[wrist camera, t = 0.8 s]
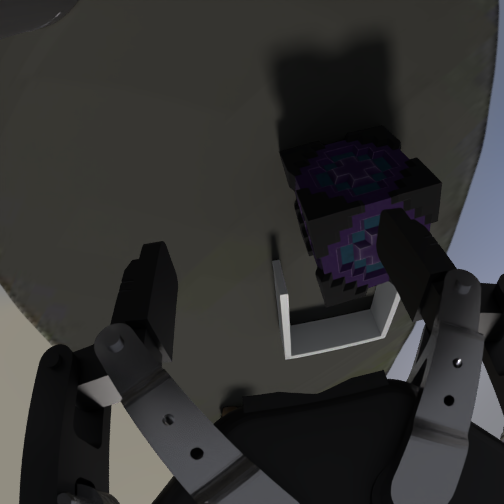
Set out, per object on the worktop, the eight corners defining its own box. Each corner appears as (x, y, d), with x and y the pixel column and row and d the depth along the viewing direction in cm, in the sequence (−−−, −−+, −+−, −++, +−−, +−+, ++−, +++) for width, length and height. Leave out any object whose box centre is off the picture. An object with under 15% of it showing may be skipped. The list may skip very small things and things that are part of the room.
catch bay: (272, 260, 44) (279, 295, 39) (393, 239, 44) (410, 269, 39) (279, 330, 56) (285, 359, 52) (374, 311, 56) (384, 337, 52)
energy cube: (381, 125, 31) (442, 182, 23) (386, 207, 39) (428, 273, 31) (279, 151, 33) (308, 221, 24) (301, 232, 41) (326, 307, 32)
